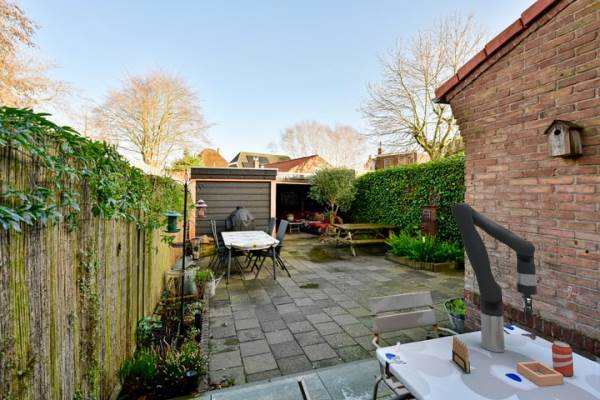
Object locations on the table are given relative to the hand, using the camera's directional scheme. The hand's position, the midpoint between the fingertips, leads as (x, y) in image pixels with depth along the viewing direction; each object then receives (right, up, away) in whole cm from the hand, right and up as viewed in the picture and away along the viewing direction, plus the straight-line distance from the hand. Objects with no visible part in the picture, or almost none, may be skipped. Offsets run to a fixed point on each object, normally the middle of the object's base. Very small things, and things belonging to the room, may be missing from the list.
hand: (527, 317), depth 131 cm
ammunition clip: (-36, -19, -7) cm, 41 cm away
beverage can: (+4, -18, -13) cm, 23 cm away
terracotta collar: (-8, -18, -16) cm, 26 cm away
